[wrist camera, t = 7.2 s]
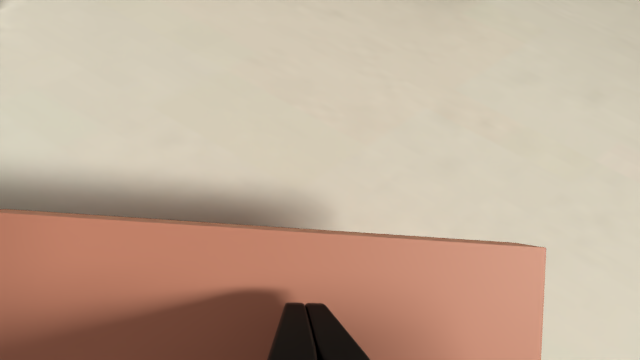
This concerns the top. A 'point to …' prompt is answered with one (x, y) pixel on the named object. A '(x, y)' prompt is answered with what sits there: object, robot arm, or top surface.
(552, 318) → the top surface
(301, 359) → the robot arm
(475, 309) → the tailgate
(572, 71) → the top surface
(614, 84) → the top surface
